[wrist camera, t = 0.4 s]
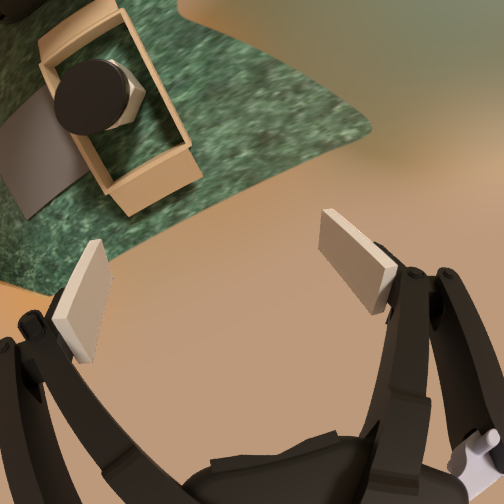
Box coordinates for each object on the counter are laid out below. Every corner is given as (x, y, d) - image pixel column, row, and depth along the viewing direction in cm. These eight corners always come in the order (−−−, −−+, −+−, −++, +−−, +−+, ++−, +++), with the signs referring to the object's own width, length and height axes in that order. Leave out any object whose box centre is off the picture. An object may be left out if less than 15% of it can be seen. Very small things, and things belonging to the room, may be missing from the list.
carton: (41, 45, 22) (29, 41, 19) (118, -6, 22) (112, -15, 19) (128, 213, 39) (123, 223, 36) (206, 170, 39) (208, 177, 35)
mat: (-13, 143, 26) (-15, 143, 26) (52, 78, 26) (51, 78, 26) (28, 219, 35) (27, 220, 34) (96, 165, 34) (95, 166, 34)
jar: (90, 133, 32) (55, 146, 22) (84, 80, 28) (46, 74, 18) (149, 119, 33) (133, 125, 23) (144, 65, 29) (127, 48, 19)
